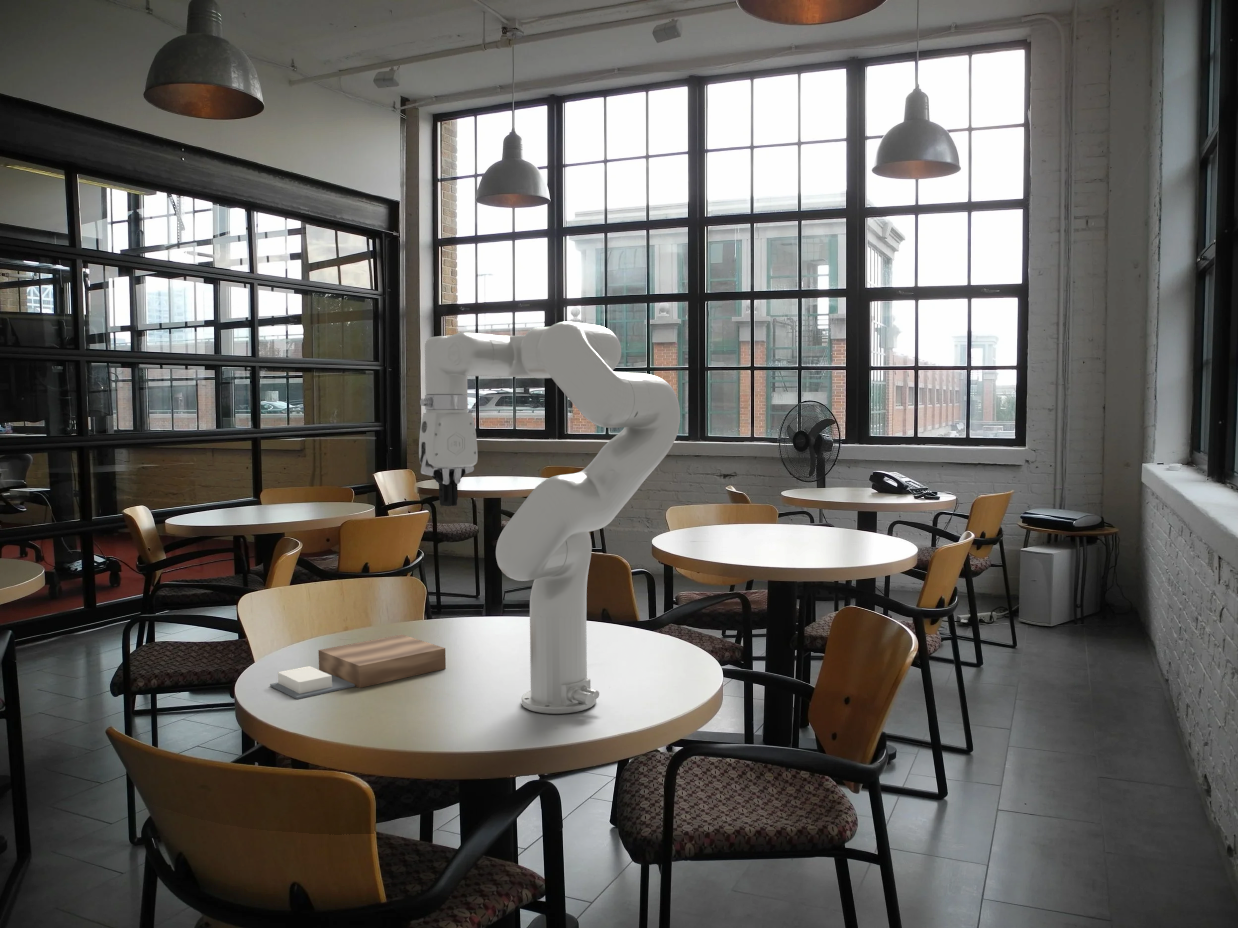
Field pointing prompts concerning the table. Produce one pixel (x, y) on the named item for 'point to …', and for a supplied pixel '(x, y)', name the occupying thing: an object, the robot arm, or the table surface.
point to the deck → (382, 660)
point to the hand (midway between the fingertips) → (448, 505)
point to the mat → (336, 685)
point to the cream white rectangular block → (304, 679)
